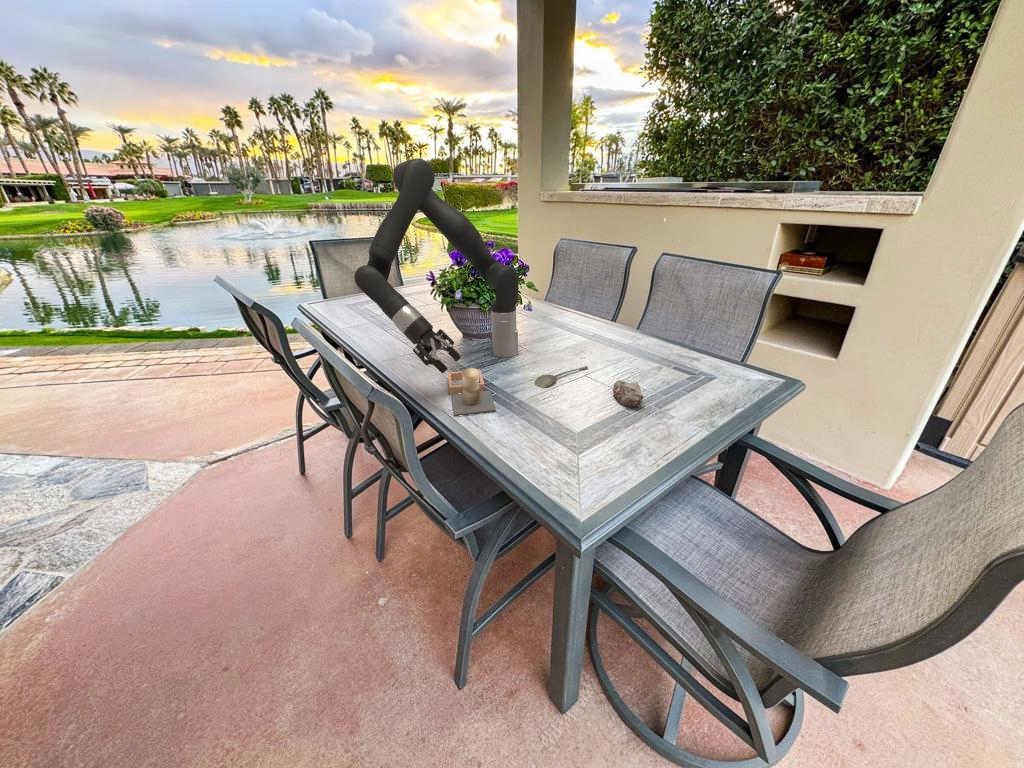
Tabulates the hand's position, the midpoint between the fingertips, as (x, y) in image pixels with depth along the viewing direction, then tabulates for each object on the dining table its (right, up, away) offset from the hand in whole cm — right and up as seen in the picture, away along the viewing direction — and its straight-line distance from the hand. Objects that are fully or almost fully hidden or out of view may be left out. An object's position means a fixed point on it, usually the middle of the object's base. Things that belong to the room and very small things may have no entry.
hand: (452, 365), depth 114 cm
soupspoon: (+34, -4, +19) cm, 39 cm away
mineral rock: (+52, -10, +5) cm, 53 cm away
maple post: (+5, -11, +3) cm, 13 cm away
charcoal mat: (+6, -11, +4) cm, 13 cm away
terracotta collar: (+2, -6, +15) cm, 16 cm away
